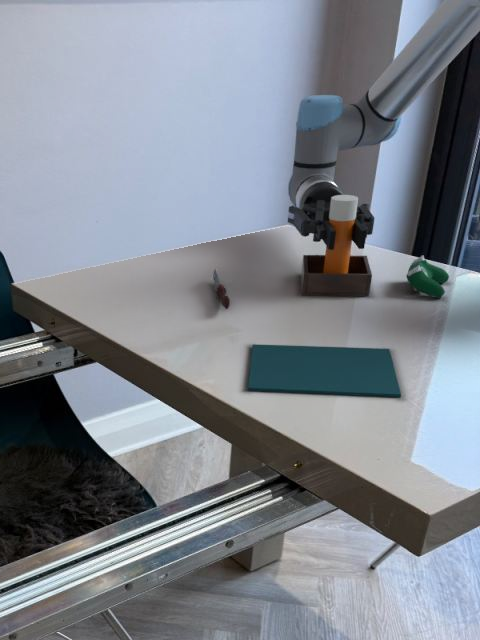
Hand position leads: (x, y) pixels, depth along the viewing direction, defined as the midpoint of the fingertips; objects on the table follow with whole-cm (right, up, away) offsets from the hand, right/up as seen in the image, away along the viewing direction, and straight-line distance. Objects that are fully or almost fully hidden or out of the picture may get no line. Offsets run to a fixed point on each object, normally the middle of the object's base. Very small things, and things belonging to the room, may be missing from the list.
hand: (347, 240), depth 118 cm
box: (+1, -4, +9) cm, 10 cm away
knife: (-18, -7, +7) cm, 21 cm away
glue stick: (+1, -4, +9) cm, 10 cm away
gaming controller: (+14, -6, +6) cm, 17 cm away
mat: (-9, -23, -17) cm, 30 cm away
